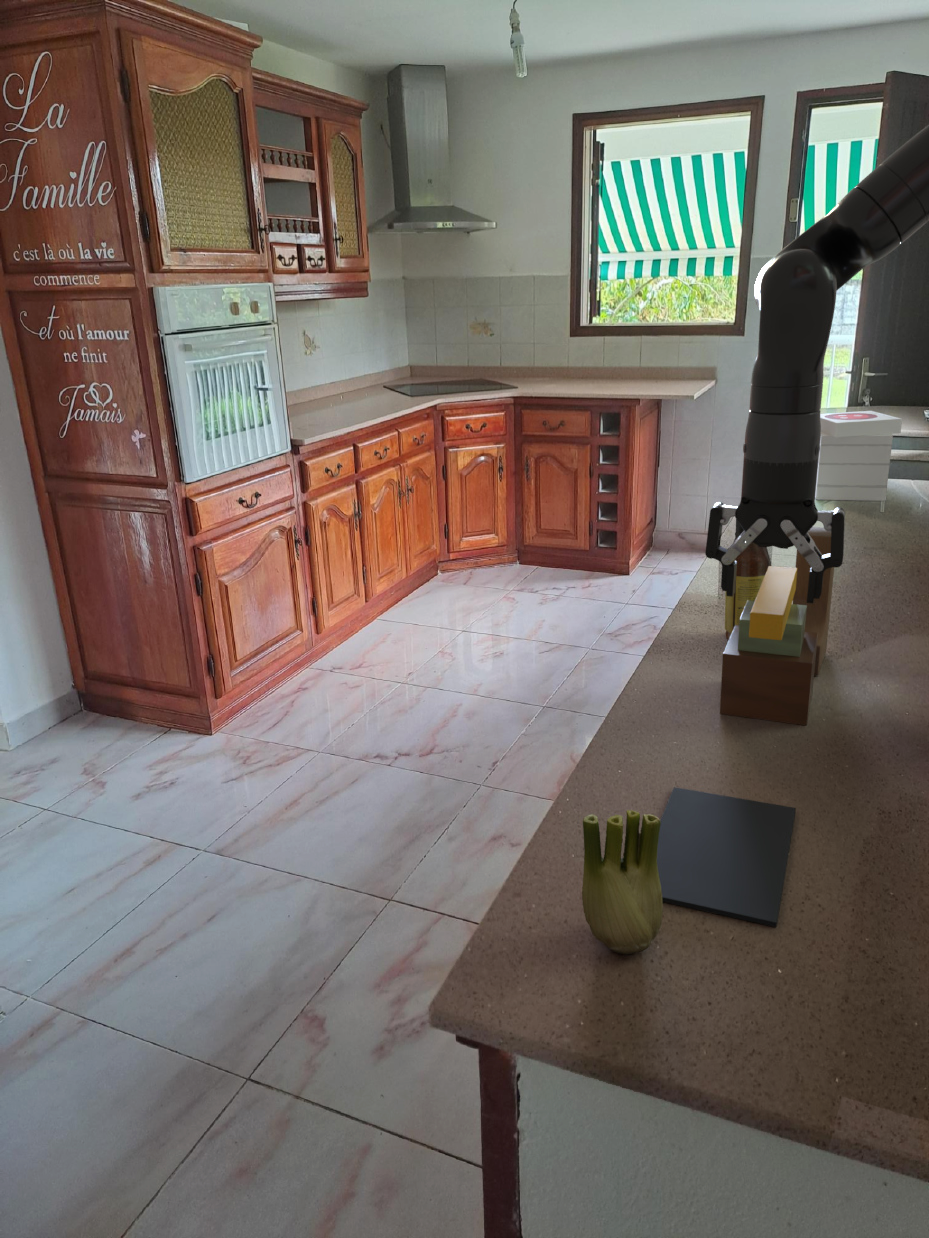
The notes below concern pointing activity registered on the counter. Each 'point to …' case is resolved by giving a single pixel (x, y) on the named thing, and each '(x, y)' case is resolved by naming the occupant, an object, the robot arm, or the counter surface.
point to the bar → (773, 603)
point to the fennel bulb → (622, 882)
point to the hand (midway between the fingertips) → (769, 597)
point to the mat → (724, 854)
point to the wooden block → (821, 607)
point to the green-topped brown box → (769, 671)
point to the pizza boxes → (855, 455)
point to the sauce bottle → (745, 580)
